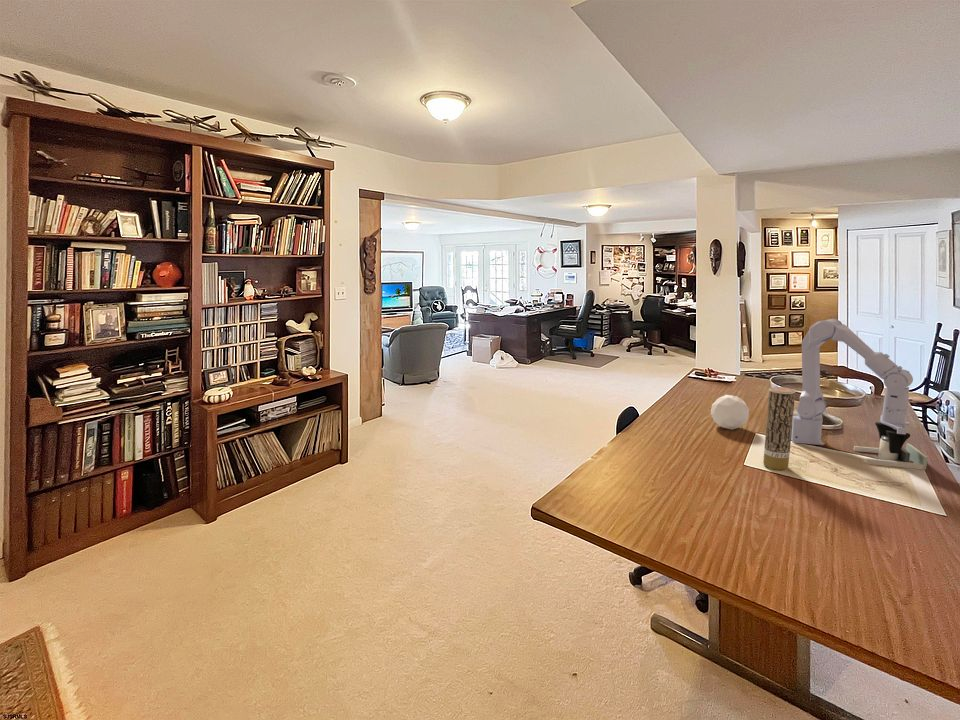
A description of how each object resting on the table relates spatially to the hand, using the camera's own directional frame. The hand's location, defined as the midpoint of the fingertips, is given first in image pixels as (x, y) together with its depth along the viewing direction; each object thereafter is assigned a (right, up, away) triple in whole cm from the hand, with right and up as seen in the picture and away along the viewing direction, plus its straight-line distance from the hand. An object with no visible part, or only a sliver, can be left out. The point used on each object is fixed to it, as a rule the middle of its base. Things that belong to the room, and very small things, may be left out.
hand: (889, 448), depth 156 cm
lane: (0, -3, +1) cm, 4 cm away
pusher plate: (+3, -3, -1) cm, 4 cm away
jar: (0, -4, +1) cm, 4 cm away
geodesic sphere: (-34, +2, +35) cm, 49 cm away
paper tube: (-39, -5, -3) cm, 39 cm away
